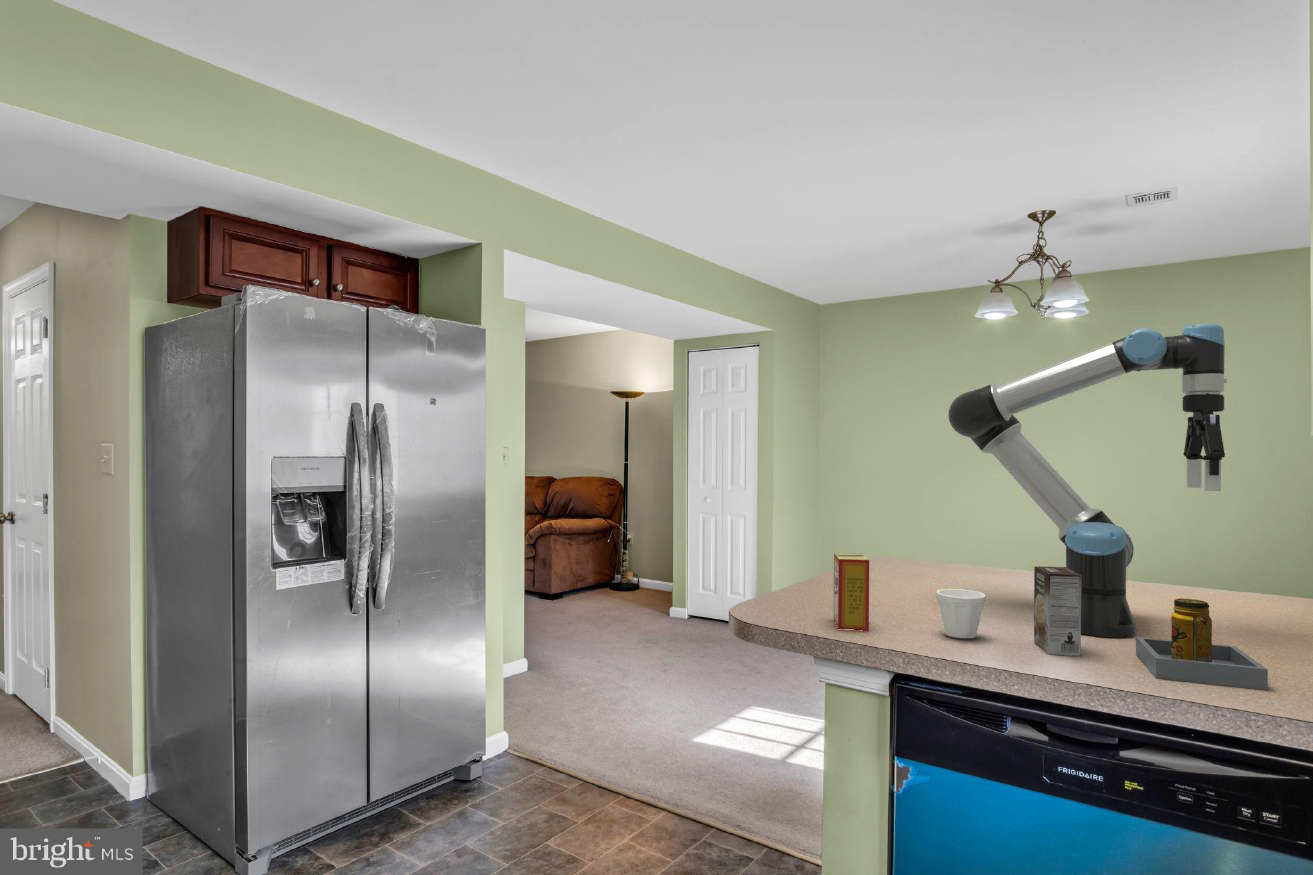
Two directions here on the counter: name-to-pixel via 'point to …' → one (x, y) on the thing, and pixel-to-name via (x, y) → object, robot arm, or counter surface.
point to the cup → (960, 612)
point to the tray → (1203, 665)
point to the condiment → (1191, 630)
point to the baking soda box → (851, 591)
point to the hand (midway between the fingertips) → (1202, 489)
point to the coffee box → (1057, 610)
